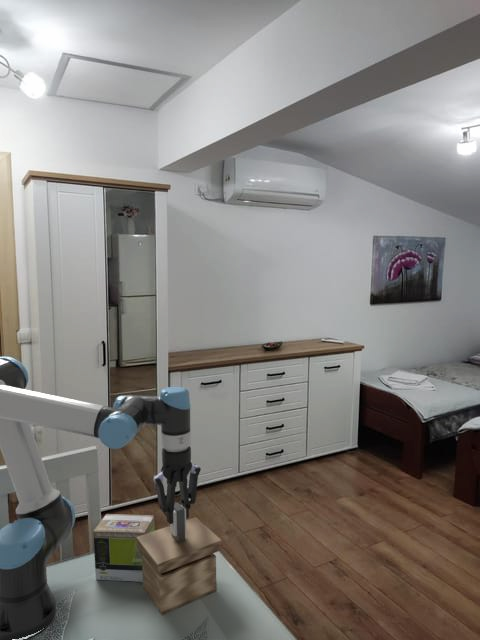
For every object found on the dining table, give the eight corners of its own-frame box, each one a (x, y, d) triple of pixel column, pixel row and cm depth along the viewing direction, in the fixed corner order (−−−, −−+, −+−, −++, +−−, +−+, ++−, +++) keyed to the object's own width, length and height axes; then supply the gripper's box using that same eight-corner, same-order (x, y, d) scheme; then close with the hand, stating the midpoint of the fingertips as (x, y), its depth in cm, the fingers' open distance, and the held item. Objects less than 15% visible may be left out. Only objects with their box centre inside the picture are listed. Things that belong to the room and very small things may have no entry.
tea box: (157, 561, 140) (155, 514, 138) (147, 583, 130) (145, 533, 129) (108, 558, 142) (106, 512, 140) (94, 580, 132) (92, 530, 130)
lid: (157, 574, 115) (156, 529, 114) (136, 546, 127) (135, 505, 126) (221, 550, 125) (220, 507, 124) (196, 526, 137) (195, 487, 136)
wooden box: (161, 615, 118) (160, 578, 117) (143, 588, 128) (142, 554, 127) (216, 590, 127) (215, 556, 126) (195, 567, 137) (194, 535, 136)
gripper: (155, 458, 116) (157, 548, 118) (208, 445, 124) (209, 529, 127) (143, 448, 122) (146, 534, 125) (195, 436, 130) (196, 517, 133)
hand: (178, 531), depth 126 cm, fingers closed on lid, 2 cm apart
